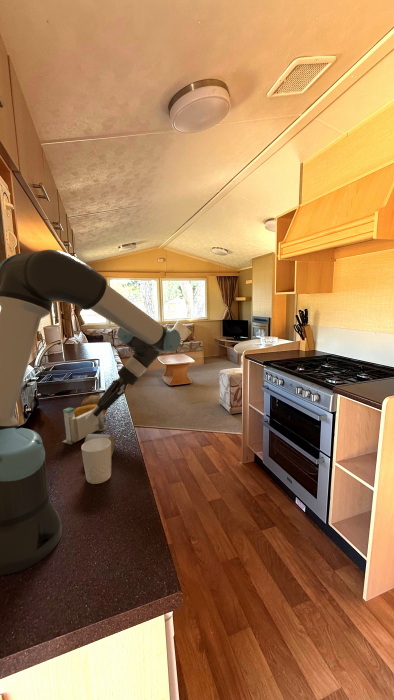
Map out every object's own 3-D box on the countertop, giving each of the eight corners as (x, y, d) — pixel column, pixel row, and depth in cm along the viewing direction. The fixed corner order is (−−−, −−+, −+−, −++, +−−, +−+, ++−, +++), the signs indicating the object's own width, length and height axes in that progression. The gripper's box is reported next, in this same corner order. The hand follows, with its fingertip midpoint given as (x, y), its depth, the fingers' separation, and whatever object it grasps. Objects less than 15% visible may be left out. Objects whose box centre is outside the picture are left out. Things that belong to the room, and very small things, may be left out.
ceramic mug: (111, 462, 93) (109, 439, 92) (84, 463, 92) (82, 440, 91) (117, 446, 103) (116, 425, 102) (93, 447, 103) (91, 426, 102)
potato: (107, 421, 125) (106, 405, 124) (72, 425, 121) (70, 409, 120) (107, 414, 132) (106, 399, 131) (73, 418, 128) (72, 403, 127)
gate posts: (69, 445, 104) (66, 412, 102) (61, 441, 107) (57, 409, 105) (110, 427, 118) (108, 398, 116) (102, 424, 121) (99, 396, 119)
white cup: (111, 467, 90) (109, 436, 89) (114, 481, 83) (112, 448, 81) (84, 472, 88) (81, 441, 86) (84, 488, 80) (81, 453, 79)
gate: (95, 428, 116) (93, 407, 115) (98, 429, 115) (97, 408, 114) (71, 441, 106) (69, 418, 104) (75, 442, 105) (73, 419, 104)
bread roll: (88, 420, 135) (92, 406, 132) (74, 407, 139) (78, 394, 136) (106, 413, 143) (110, 400, 140) (92, 401, 147) (95, 388, 144)
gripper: (143, 381, 108) (98, 434, 104) (135, 373, 119) (95, 420, 116) (127, 368, 105) (80, 422, 101) (121, 362, 117) (79, 409, 113)
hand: (88, 421), depth 108 cm, fingers closed
